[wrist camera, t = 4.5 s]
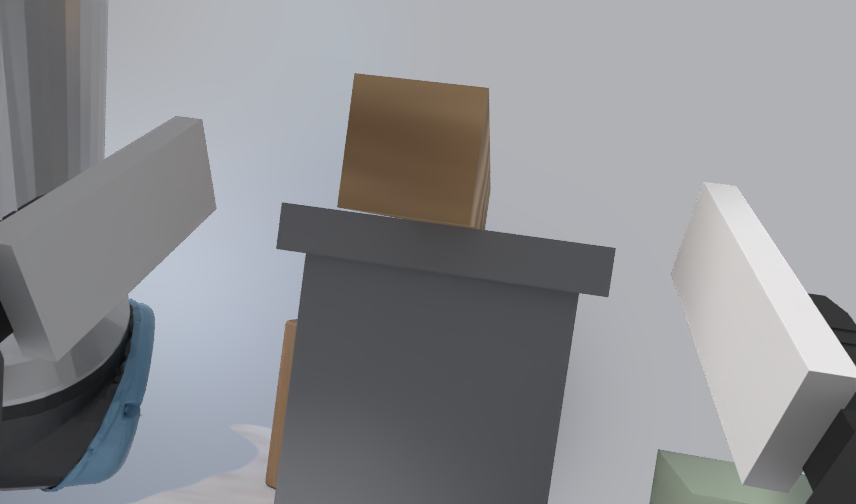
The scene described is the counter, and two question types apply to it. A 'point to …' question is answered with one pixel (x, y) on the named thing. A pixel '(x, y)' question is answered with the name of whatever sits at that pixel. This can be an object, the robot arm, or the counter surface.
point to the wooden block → (281, 403)
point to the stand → (427, 359)
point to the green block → (713, 483)
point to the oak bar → (417, 151)
